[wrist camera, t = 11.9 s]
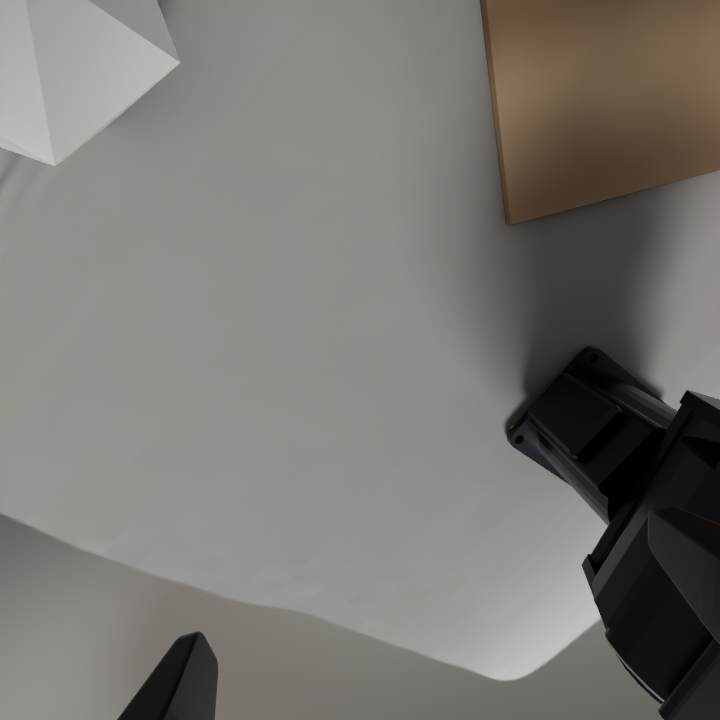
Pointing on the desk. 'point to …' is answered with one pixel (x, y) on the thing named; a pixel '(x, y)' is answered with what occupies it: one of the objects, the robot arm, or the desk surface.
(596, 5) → the pull board
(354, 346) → the desk surface
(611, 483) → the robot arm
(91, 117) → the die
